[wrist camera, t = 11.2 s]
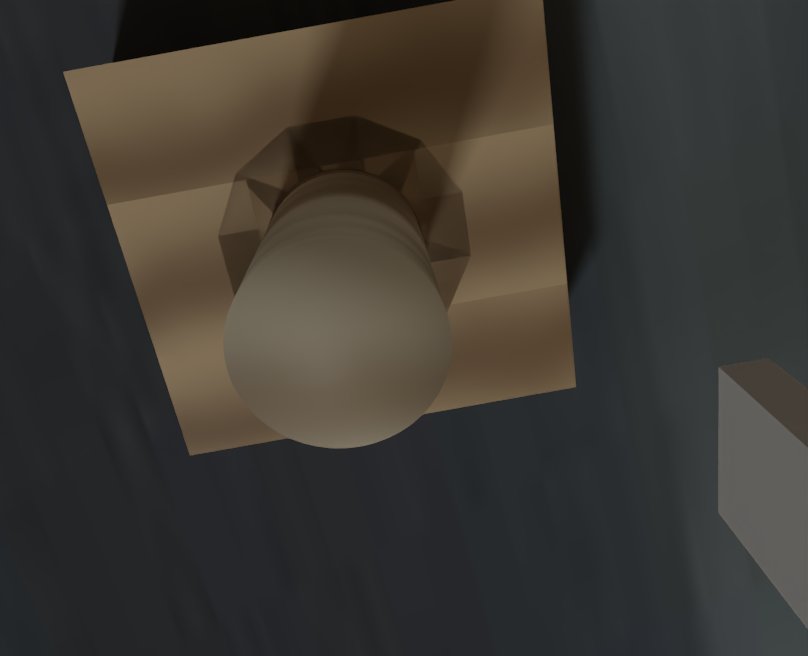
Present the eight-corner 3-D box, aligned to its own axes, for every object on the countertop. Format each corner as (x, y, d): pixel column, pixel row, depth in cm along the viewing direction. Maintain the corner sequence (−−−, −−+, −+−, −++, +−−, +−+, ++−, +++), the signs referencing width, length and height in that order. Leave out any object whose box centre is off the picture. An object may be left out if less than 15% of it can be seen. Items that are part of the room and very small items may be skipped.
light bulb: (265, 162, 30) (192, 260, 17) (402, 138, 29) (436, 216, 17) (296, 291, 32) (253, 466, 19) (423, 268, 32) (468, 428, 19)
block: (111, 66, 28) (63, 72, 24) (511, -7, 28) (541, -16, 24) (212, 398, 34) (190, 455, 29) (546, 339, 34) (576, 386, 29)
